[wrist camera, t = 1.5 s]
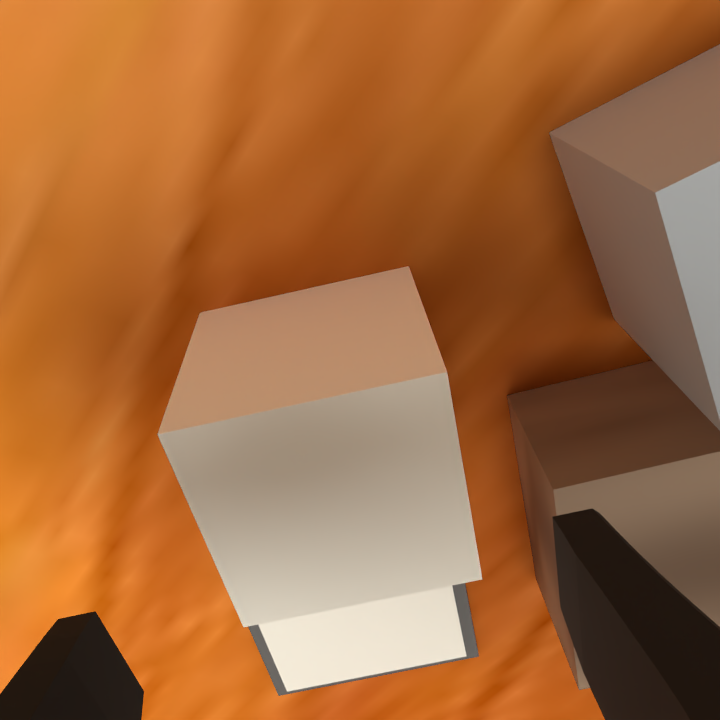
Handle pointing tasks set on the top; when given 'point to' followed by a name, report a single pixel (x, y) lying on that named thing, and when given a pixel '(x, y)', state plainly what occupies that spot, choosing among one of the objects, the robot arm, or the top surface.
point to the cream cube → (322, 449)
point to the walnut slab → (622, 478)
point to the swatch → (367, 639)
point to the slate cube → (657, 217)
